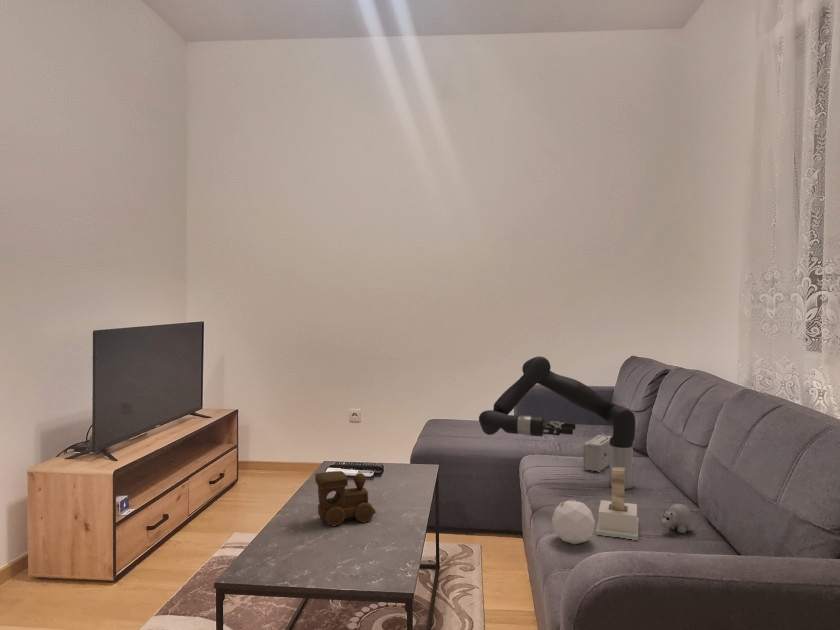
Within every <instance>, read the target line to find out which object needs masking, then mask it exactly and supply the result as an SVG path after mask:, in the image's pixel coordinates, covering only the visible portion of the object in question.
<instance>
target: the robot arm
mask: <svg viewBox="0 0 840 630" xmlns="http://www.w3.org/2000/svg"><path fill="white" fill-rule="evenodd" d="M522 373H523V374H522V375H521V376H520V378H519V379H518V380H516V381H515V382H514V383H513V384H511V386H510V387H509V388H507V389H506V390H505V391H504V392H503V393H502V394H501V395H500V396H499V397H498V398H497V400H495V402H494V404H493V407H492V408H493V410H492V409H491V410H490V409H489V410H488V409H487V410H484V411H482V412H481V413H480V414H479V416H478V422H479V425H480V427H481V429H482V432H483V433H484V434H485V435H489V436H491V435H492V436H493V435H495V434H496V433H498V432H499V430H503V431H504V432H505V433H506V434H512V435H513V434H514V435H521V436H531V437H541V438H542V437H543V436H544V435H548V436H549V435H550V436H561V435H573V434H574V433H573V432H574V431H575V430H576V424H575V423H572V422H571V423H569V422H565V421H564V420H548V422H547V421H546V422H545V418H544V416H537V415H534V416H533V415H516V414H515V415H512V414H510V413H511V412H512V411H513V409H515V407H516V406H517V405H518V404H519V403H520V402H521V401H522V399H524V397H525V396H526V395H527V394H528V393H529V392H530V391H531V390H532V389H533V387H535V386H536V385H537V384H538V385H541V386H542V387H545V388H547V389H549V390H550V391H552V392H553V393H555V394H556V395H559V396H560V397H562V398H563V399H565V400H567V401H568V402H570V403H572V404H573V405H575V406H576V407H579V408H581V409H584V410H586V411H589V412H591V413H593V414H596V415H597V416H598V417H600V418H602V419H603V420H604V421H605V422H607V423H608V424H609V425H610V426H612V427H613V429H612V432H613V433H612V435H611V436H612V437H611V438H610V454H609V466H608V467H609V470H608V471H609V473H608V475H609V477H608V478H609V479H608V482H609V483H608V484H609V486H610V487H611V488H612V467H620V468H625V490H629V489H632V488H635V477H636V476H635V474H636V472H635V470H636V469H635V467H636V466H635V464H634V463H633V459H634V458H633V455H634V454H633V452H634V450H633V448H634V447H633V445H634V441H635V437H636V417H635V414H634V413H633V411H632V410H630V409H628V408H627V407H624V406H621V405H618V404H616V403H613V402H611V401H608V400H607V399H605V398H604V397H602V396H600V395H599V394H598V393H597V392H596V391H595V390H594V389H592V388H591V387H589V386H588V385H586V384H584V383H583V382H581V381H579V380H577V379H575V378H572V377H568V376H564V375H560V374H558V373H555V372H553V371H551V363H550V361H549V360H548V359H547V358H546V357H545V356H539V355H538V356H535V357H533V358H530V359H528V360H527V361H525V362H524V363H523V365H522ZM509 414H510V415H509Z"/></svg>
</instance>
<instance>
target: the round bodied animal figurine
mask: <svg viewBox="0 0 840 630" xmlns="http://www.w3.org/2000/svg"><path fill="white" fill-rule="evenodd" d="M691 521H692V513H691V510H690V509H689V507H687V506H686V505H685V504H681V503H674V504H672V505H670V506H669V508H668V510H666V509H665V508H663V515H662V518H661V522H660V523H661V526H662V527H663V528H666V529H668V528H669V529H670V530H675V531H677V532H678V533H679V534H686V532H692V531H693V526H692V523H691Z"/></svg>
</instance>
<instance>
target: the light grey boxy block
mask: <svg viewBox="0 0 840 630" xmlns="http://www.w3.org/2000/svg"><path fill="white" fill-rule="evenodd" d="M597 431H599V432H600V433H601V434H598V435H596V436H594V437H593V438H591V439H590V440H588V441H586V442H584V443H583V453H582V456H583V457H582V458H583V459H582V460H583V461H582V462H583V464H582V465H583V470H585V471H587V470H591V471H590V472H593V471H597V472H596V473H598V472H599V473H600V472H601V470H602V471H603V470H605V469H606V468H607V467H609V454H610V438H611V437H612V436H613V435H606V434H604V432H602V430H600V429H599V428H598V429H597Z"/></svg>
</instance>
